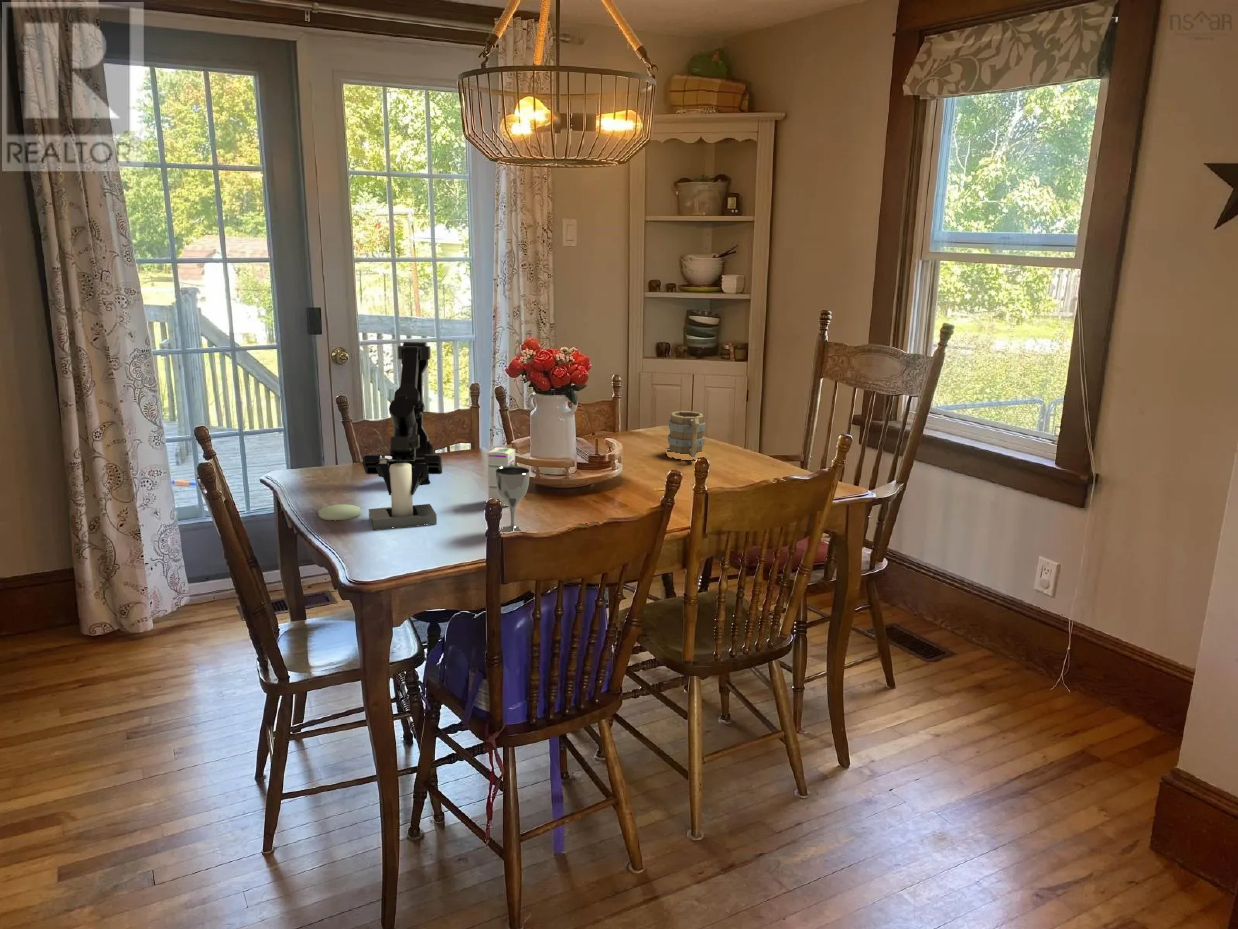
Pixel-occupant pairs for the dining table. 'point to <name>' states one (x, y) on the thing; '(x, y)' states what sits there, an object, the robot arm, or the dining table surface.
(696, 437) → the tankard
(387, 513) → the dark grey peg holder
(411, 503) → the cream round peg
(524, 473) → the wine glass
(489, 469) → the syrup box
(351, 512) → the sage mat
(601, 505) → the dining table surface
